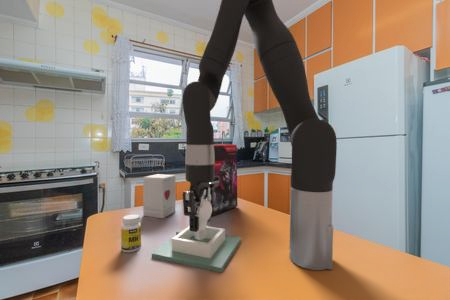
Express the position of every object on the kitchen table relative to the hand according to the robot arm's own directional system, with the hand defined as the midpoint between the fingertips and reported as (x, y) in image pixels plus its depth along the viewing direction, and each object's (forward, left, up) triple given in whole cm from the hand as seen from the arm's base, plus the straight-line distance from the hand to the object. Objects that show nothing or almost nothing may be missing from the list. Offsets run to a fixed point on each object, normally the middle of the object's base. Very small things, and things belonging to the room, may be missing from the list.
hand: (200, 225), depth 58 cm
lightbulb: (0, 0, -4) cm, 4 cm away
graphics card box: (+7, -32, -6) cm, 33 cm away
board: (0, 0, -6) cm, 6 cm away
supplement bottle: (+17, +6, -6) cm, 19 cm away
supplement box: (+27, -20, -6) cm, 34 cm away
